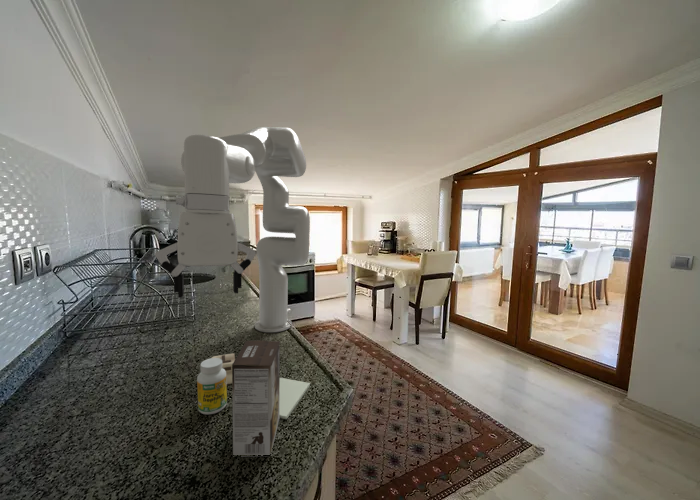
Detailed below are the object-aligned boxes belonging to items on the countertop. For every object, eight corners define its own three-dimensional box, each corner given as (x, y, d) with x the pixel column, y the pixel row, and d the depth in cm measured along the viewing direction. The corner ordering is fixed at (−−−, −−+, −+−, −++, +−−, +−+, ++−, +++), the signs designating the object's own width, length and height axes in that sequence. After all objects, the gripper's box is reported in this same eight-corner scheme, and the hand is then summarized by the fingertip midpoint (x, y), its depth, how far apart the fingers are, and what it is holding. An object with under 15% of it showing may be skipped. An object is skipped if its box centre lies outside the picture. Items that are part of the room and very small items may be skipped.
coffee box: (246, 419, 57) (246, 339, 55) (280, 418, 57) (281, 339, 55) (231, 458, 48) (230, 364, 46) (271, 457, 48) (272, 364, 46)
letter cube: (212, 376, 71) (212, 355, 71) (234, 372, 73) (234, 352, 73) (212, 387, 67) (211, 366, 66) (235, 383, 69) (235, 362, 68)
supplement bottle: (224, 395, 64) (223, 353, 63) (229, 409, 59) (228, 364, 58) (196, 403, 61) (195, 359, 60) (199, 419, 56) (198, 372, 55)
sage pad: (263, 376, 72) (263, 374, 72) (310, 385, 69) (310, 383, 69) (232, 407, 60) (232, 404, 60) (286, 419, 57) (286, 416, 57)
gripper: (149, 202, 49) (153, 303, 50) (258, 207, 56) (258, 295, 58) (157, 203, 55) (160, 292, 57) (253, 207, 63) (253, 286, 65)
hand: (209, 293), depth 57 cm, fingers open, 9 cm apart
